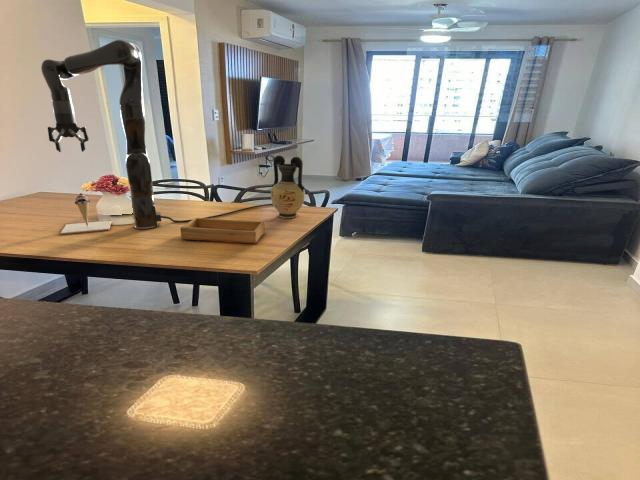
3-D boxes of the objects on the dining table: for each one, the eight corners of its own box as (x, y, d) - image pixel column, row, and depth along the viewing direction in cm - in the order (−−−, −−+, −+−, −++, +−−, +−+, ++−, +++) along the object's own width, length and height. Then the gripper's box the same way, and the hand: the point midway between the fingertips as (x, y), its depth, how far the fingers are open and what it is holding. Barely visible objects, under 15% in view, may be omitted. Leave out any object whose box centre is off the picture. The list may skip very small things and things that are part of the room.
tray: (264, 233, 166) (264, 220, 164) (255, 244, 152) (255, 231, 150) (196, 230, 168) (195, 217, 167) (181, 240, 154) (180, 227, 152)
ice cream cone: (84, 229, 165) (77, 195, 160) (77, 227, 168) (70, 193, 163) (97, 225, 169) (90, 192, 164) (90, 223, 172) (83, 191, 167)
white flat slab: (111, 220, 179) (111, 219, 179) (108, 230, 165) (108, 229, 165) (66, 224, 172) (66, 223, 172) (60, 234, 158) (59, 233, 158)
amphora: (308, 212, 200) (308, 154, 190) (301, 221, 184) (301, 158, 175) (275, 210, 203) (274, 153, 193) (266, 219, 187) (264, 157, 177)
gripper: (42, 112, 154) (50, 153, 159) (82, 112, 160) (89, 152, 165) (46, 111, 161) (54, 151, 166) (85, 112, 166) (91, 150, 171)
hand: (71, 151), depth 165 cm, fingers open, 8 cm apart
